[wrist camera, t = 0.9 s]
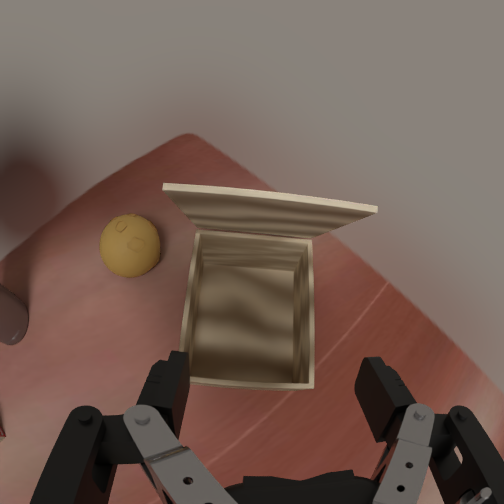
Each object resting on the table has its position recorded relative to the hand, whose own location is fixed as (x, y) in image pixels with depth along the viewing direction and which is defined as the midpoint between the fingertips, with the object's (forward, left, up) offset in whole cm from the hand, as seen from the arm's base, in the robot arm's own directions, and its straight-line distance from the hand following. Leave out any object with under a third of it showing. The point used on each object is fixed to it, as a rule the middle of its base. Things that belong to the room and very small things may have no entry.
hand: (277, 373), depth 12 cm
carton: (-7, +7, -31) cm, 33 cm away
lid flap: (-11, +11, -12) cm, 20 cm away
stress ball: (-27, 0, -31) cm, 41 cm away
